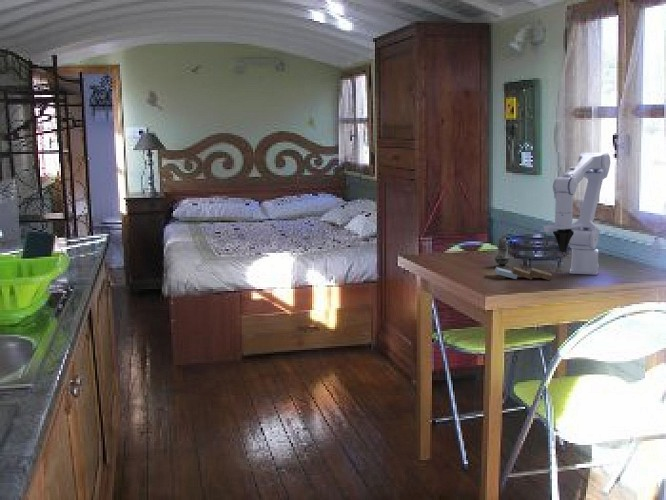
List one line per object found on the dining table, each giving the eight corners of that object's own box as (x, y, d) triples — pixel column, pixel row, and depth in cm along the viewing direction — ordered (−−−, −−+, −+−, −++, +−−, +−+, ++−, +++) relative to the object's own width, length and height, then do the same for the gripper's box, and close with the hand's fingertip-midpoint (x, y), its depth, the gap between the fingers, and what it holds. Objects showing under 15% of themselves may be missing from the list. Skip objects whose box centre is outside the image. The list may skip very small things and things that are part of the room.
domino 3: (532, 272, 273) (513, 266, 273) (533, 275, 268) (514, 269, 269) (530, 277, 273) (511, 270, 274) (532, 279, 269) (512, 273, 269)
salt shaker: (510, 268, 290) (511, 236, 288) (494, 268, 291) (495, 236, 289) (509, 265, 296) (509, 234, 294) (493, 265, 297) (494, 234, 295)
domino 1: (506, 273, 275) (486, 272, 277) (505, 275, 271) (485, 275, 273) (506, 277, 275) (486, 277, 277) (505, 280, 271) (485, 279, 273)
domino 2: (514, 271, 273) (495, 266, 273) (517, 275, 269) (498, 270, 269) (513, 276, 274) (494, 271, 273) (516, 279, 270) (497, 274, 269)
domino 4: (551, 273, 270) (532, 267, 272) (551, 275, 266) (531, 269, 268) (550, 277, 271) (530, 272, 273) (549, 280, 267) (529, 274, 268)
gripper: (574, 210, 270) (573, 248, 272) (538, 212, 265) (538, 251, 267) (587, 212, 263) (586, 251, 265) (551, 214, 258) (549, 254, 261)
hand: (562, 251), depth 266 cm, fingers closed
